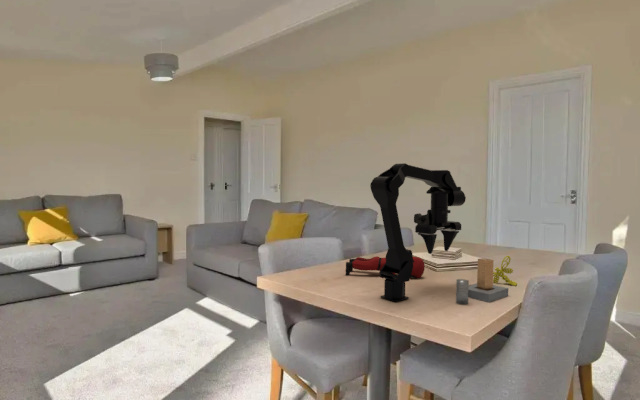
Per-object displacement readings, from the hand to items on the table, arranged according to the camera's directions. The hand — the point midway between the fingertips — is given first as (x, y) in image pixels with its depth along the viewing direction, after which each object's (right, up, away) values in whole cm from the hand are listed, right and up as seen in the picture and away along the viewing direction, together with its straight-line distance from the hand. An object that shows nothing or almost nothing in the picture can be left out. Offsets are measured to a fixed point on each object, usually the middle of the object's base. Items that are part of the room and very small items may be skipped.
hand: (438, 252), depth 148 cm
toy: (-15, -12, +22) cm, 29 cm away
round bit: (+3, -14, -15) cm, 20 cm away
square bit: (+14, -14, -6) cm, 20 cm away
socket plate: (+13, -14, -6) cm, 20 cm away
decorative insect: (+25, -13, +11) cm, 30 cm away
